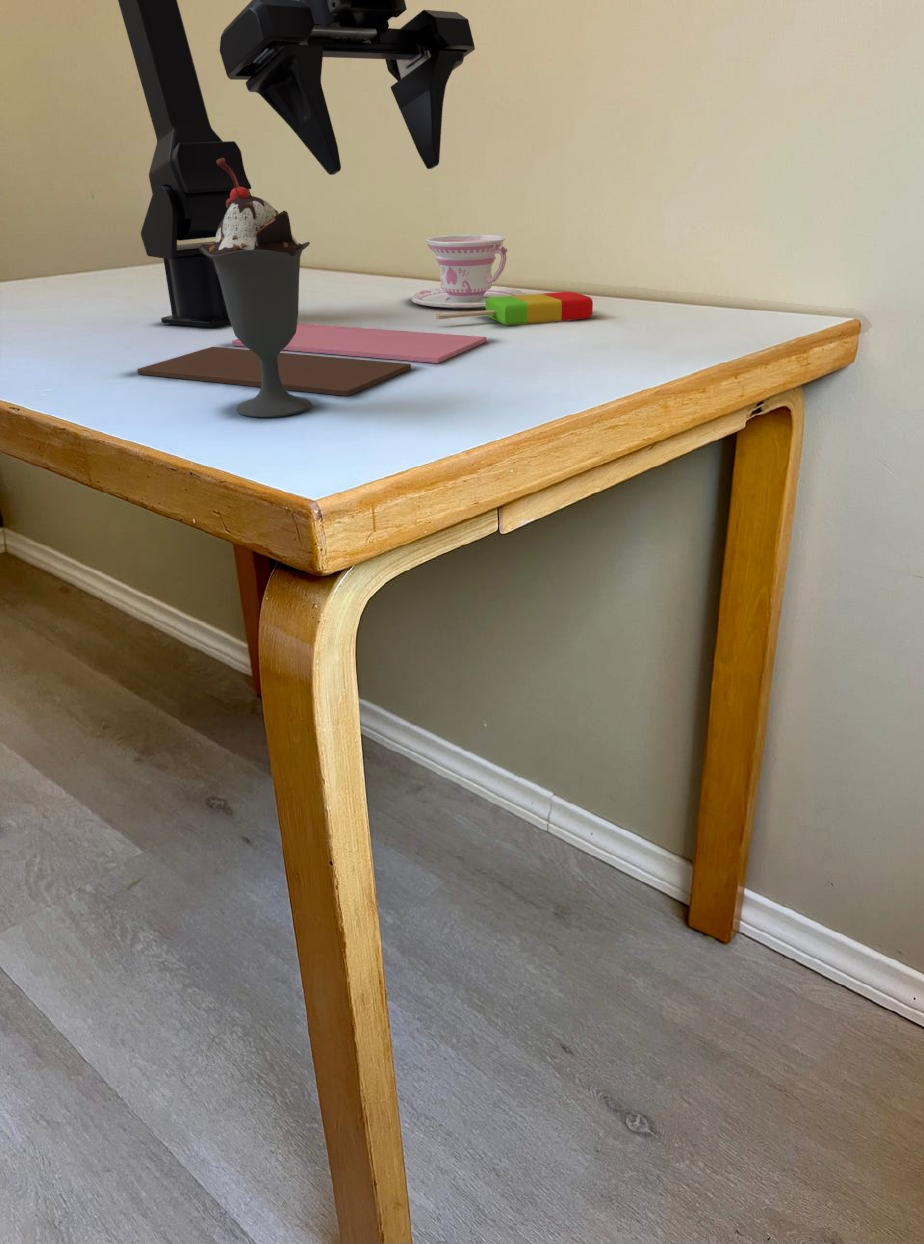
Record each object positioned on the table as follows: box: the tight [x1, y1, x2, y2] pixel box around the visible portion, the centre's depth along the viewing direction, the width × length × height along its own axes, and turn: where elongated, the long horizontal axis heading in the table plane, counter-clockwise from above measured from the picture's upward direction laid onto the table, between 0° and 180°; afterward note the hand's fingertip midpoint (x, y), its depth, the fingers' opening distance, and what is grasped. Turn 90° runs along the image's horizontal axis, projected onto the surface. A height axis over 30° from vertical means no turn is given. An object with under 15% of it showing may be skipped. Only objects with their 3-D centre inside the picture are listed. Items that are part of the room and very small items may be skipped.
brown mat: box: [136, 346, 412, 397], centre depth 74 cm, size 19×9×1 cm, turn 64°
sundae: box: [199, 158, 312, 419], centre depth 61 cm, size 7×7×15 cm
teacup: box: [410, 233, 526, 309], centre depth 100 cm, size 12×12×6 cm
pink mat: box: [231, 322, 487, 364], centre depth 83 cm, size 20×9×1 cm, turn 64°
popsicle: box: [435, 291, 594, 326], centre depth 91 cm, size 6×15×2 cm, turn 109°
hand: (386, 169), depth 70 cm, fingers open, 9 cm apart
